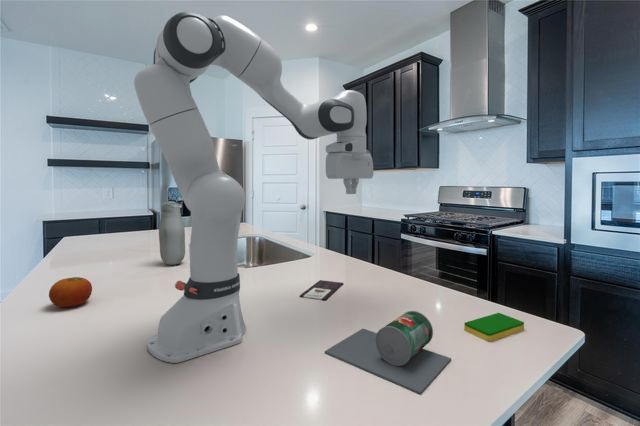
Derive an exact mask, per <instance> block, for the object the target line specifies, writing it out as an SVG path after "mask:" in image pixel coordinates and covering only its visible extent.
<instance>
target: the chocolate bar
mask: <svg viewBox="0 0 640 426" xmlns="http://www.w3.org/2000/svg"><path fill="white" fill-rule="evenodd" d="M343 285H344V282H340V281H330V280H321V279H320V280H318V281H317V282H316V283H314V284H313V285H311V286H310V287H309V288H308V289H306V290H305V291H304V292H302V293H301V294H300V295H299V298H304V299H309V300H317V301H323V302H324V301H325V302H326V301H328V299H330V298H331V297H332V295H334V294H335V293H336V292H337V291H338V290H339V289H340V288H342V286H343Z"/></svg>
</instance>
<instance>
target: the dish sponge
mask: <svg viewBox="0 0 640 426" xmlns="http://www.w3.org/2000/svg"><path fill="white" fill-rule="evenodd" d="M463 325H464V326H463V331H465V332H467V333H469V334H470V335H473V336H475V337H477V338H479V339H481V340H484V341H485V342H493V341H496V340H499V339H502V338H505V337H508V336H510V335H513V334H517V333H519V332H521V331H524V330H525V321H522V320H519V319H517V318H515V317H512V316H509V315H506V314H503V313H502V312H501V313H500V312H496V313H494V314H493V313H492V314H489V315H486V316H483V317H479V318H476V319H472V320H469V321H465V322H464V324H463Z"/></svg>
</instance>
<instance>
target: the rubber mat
mask: <svg viewBox="0 0 640 426" xmlns="http://www.w3.org/2000/svg"><path fill="white" fill-rule="evenodd" d="M377 333H378V332H375V331H372V330H369V329H366V328H361V329H359V330H358V331H355V333H353V334H351V335H349V336H348V337H346V338H344V339H343V340H340V341H339V342H338V343H336V344H335V345H333V346H331V347H330V348H327V349H326V350H324V354H326V355H328V356H330V357H333V358H335V359H338V360H340V361H342V362H344V363H346V364H348V365H349V364H350V365H352V366H354V367H356V368H358V369H361V370H363V371H366V372H368V373H370V374H372V375H374V376H376V377H380V378H381V379H383V380H386V381H388V382H390V383H394V384H395V385H397V386H400V387H402V388H404V389H407V390H409V391H411V392H414V393H416V394H419V395H422V394H423V392H424V391H425V390H426V389H427V388H428V387H429V386H430V385H431V383H432V382H433V381H434V380H435V379H436V377H438V375H440V373H441V372H442V371H443V370H444V369H445V368H446V367H447V365H448V364H449V363H450V362H451V361H452V358H451V357H448V356H446V355H442V354H439V353H437V352H434V351H431V350H428V349H425V348H422V349H421V350H420V351H419V352H418V353H417V354H416V355H414V356H413V357H412V358H411V359H410V360H409V361H408V362H407V363H406V364H404V365H401V366H395V365H392V364H389V363H388V362H386V361H385V360H384V359H383V358H382V357H381V355H380V354H379V352H378V350H377V347H376V335H377Z"/></svg>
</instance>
